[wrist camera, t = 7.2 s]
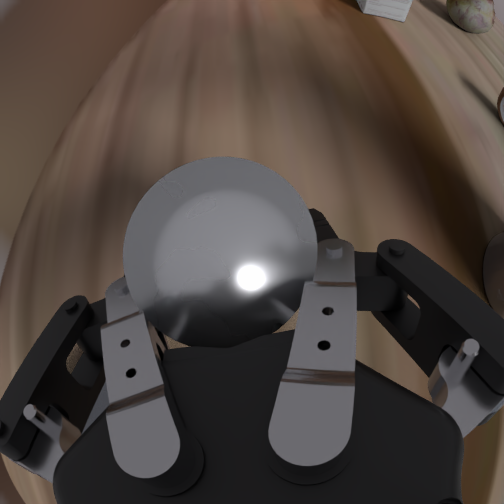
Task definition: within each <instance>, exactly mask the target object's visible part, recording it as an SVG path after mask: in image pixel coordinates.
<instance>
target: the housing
mask: <svg viewBox="0 0 504 504" xmlns="http://www.w3.org/2000/svg"><path fill="white" fill-rule="evenodd" d="M316 263H317V237H316V231H315V227H314V223H313V220H312V217H311V215H310V212H309V210H308V208H307V206H306V204H305V203H304V201H303V199H302V198H301V196H300V195H299V194H298V192H297V191H296V190H295V189H294V187H293V186H291V185H290V184H289V183H288V182H287V181H286V180H285V179H284V178H283V177H281V176H280V175H279V174H277V173H276V172H274V171H273V170H271V169H269V168H267V167H266V166H263V165H261V164H259V163H256V162H253V161H250V160H246V159H242V158H235V157H212V158H205V159H200V160H196V161H193V162H190V163H187V164H185V165H182V166H180V167H178V168H176V169H174V170H173V171H171V172H170V173H168V174H167V175H165V176H164V177H162V178H161V179H160V180H159V181H157V182H156V183H155V184H154V185H153V186H152V187H151V188H150V189H149V190H148V191H147V192H146V194H145V195H144V196H143V198H142V199H141V200H140V202H139V203H138V205H137V207H136V209H135V210H134V212H133V214H132V217H131V219H130V221H129V224H128V227H127V231H126V234H125V239H124V246H123V266H124V274H125V278H126V282H127V285H128V288H129V291H130V293H131V296H132V298H133V300H134V301H135V303H136V305H137V307H138V308H139V310H142V309H144V312H145V314H146V317H147V319H148V321H149V322H150V323H151V324H152V325H153V326H154V327H156V328H157V329H158V330H159V331H161V332H162V333H163V334H165V335H167V336H168V337H170V338H172V339H174V340H175V341H178V342H180V343H183V344H185V345H188V346H201V347H215V348H230V347H233V346H236V345H239V344H242V343H244V342H247V341H250V340H252V339H255V338H257V337H260V336H263V335H268V334H272V333H273V332H275V331H276V330H278V329H279V328H280V327H281V326H282V325H284V324H285V323H286V322H287V321H288V320H289V319H290V318H291V317H292V316H293V314H294V313H295V312H296V311H297V310H298V308H299V307H300V304H301V299H302V294H303V289H304V284H305V281H313V277H314V274H315V270H316Z"/></svg>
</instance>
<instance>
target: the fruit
mask: <svg viewBox="0 0 504 504" xmlns="http://www.w3.org/2000/svg"><path fill="white" fill-rule="evenodd" d="M446 5H447V10H448V13H449V15H450V17H451V19H452V20H453V22H454V23H456V24H457V25H458V26H459V27H461V28H463V29H464V30H466V31H468V32H473V33H476V34H480V33H486V32H488V31H489V30H490V29H491V28H492V27H493V24H494V18H495V12H494V3H493V0H447V2H446Z"/></svg>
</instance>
